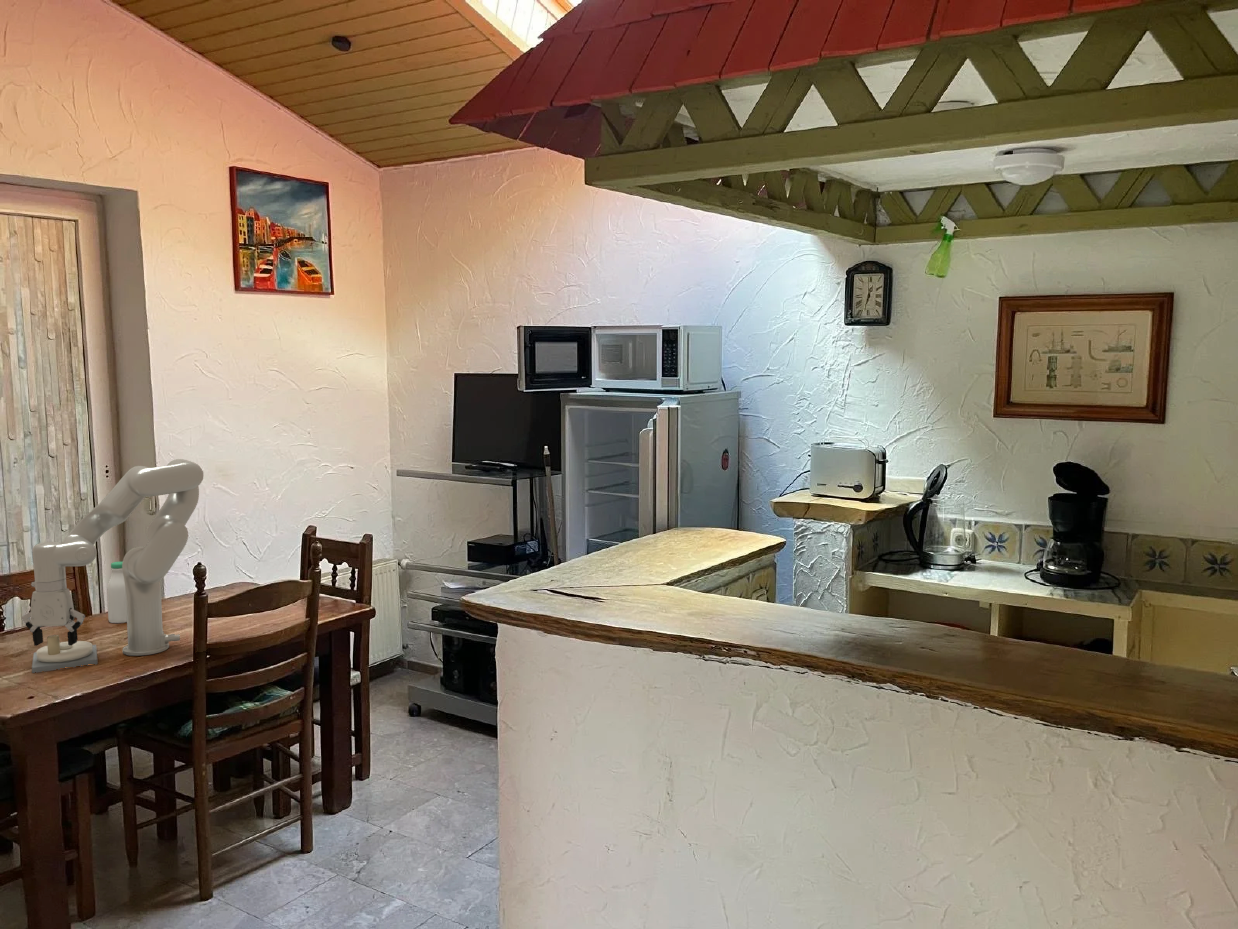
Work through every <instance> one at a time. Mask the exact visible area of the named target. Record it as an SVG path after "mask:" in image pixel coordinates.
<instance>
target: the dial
mask: <svg viewBox="0 0 1238 929" xmlns="http://www.w3.org/2000/svg"><path fill="white" fill-rule="evenodd" d="M46 641H47V643H46V644H47V645H44V646H42V647H40V648H38V649H37V650H36V652H37V660H38V661H41V662H64V661H71V660H76V659H80V658H83V657H86V656H88V655H90V654H91V653H92V652H93V646H92V645H93V643H92V642H90V641H85V640H77V642H76V643H75V644H73V645H68V641H61V642H60V635H59V634H52V635H47V636H46Z"/></svg>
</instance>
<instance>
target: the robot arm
mask: <svg viewBox="0 0 1238 929" xmlns="http://www.w3.org/2000/svg"><path fill="white" fill-rule="evenodd" d="M203 480H204V471H203V469H202V468H201V466H200V465H199V464H198V463H195V462H194V461H191V460H187V459H183V458H177V459H172V460H171V461H169V462H168V463H167V465H163V466H155V467H149V466H144V465H135V466H133V467H131V468H130V469H129V470H128V471H126V472H125V474H124V475H123V476H122V477H121V478H120V479H119V481H118V482H117V483H116V484H115V485H114V487H113V488H112V489H111V490H110V491H109V492H108V494H106V496H105V497H104V498H103V499H102V500H101V501H100V502H99V503H98V504H97V505H96V506H95V507H93V508H92V510H91V511H90V512H88V513H87V514H86V515H85V516H83V518H82V519H81V520H79V521H78V522H77V523H76V525H75V526H74V527H73V528H72V529H71V531H70V532H69V533H67V535H66V536H65V537H64V539H63V540H62V542H59V541H45V542H39V543H38V544H34V545H33V547H32V561H33V572H34V581H32V582H31V584H30V585H31V587H34V588H35V590H34V591H32V594H31V602H30V612H28V613H26V614H24V615H22V616H21V619H22V621H23V623H25V624H24V625H25V626H26V627H27V629H29V631H30V632H31V633H32V641H33V642H32V643H33V645H34V646H35V647H36V646H39V645H41V644H43V643H44V637H43V636H44V635H43V629H42V628H43V627H65V628H66V629H67V630H68V632H67V642H68V645H73V644H75V643H76V642H77V641H78V630H79V628H80V627H81V625H83V622H84V620H85V618H86V615H85V614H84V613H82V612H79V611H78V610H76V609H75V608H74V602H73V598H72V595H71V591H70V589H69V588H67V574H66V567H84V566H87V565H89V564H92V562H94V561H95V559H96V557H97V553H98V552H97V548H96V546H95V544H96V542H97V541H98V540H99V539H100V538H101V537H102V536H103V535H105V533H106V532H108V531H109V530H110V529H112V528H114V527H116V526H118V525H120V524H122V523H124V522H126V521H127V520H128V518H130V516H132V513H134V511H135V510H136V509H137V507H139V506H140V504H142V502H143V501H144V500H145V498H147V497H149V498H150V497H158V496H164V495H167V497H166V499H165V501H164V502H163V503H162V506H161V507H160V509H159V510H158V511H157V513H155V516H154V518H153V519H152V520H151V521H150V523H149V525H147V528H146V531H145V536H146V539H147V540H148V542H147V544H146V545H145V546H136V547H133V548H131V549H130V550H128V551H127V552H126V553H125V555H124V556H123V559H122V562H123V563H122V569H123V576H124V582H125V592H126V613H127V622H126V628H127V645H125V646H123V648H122V654H123V655H126V656H135V657H136V656H137V657H139V656H148V655H155V654H158V653H161V652H164V651H166V650H167V649H169V648H170V643H169V642H177V641H178V642H179V641H181V635H180V634H179V633H178V634H176V633H170V634H166V633H165V632H164V630H163V628H164V627H163V608H162V588H161V581H162V579H163V578H165V577H166V576H167V574H168V573H169V571H170V569H171V568H172V567H173V565H174V564H175V562H176V561H177V560H178V558H179V556H180V555H181V553H182V552H183V551H184V548H185V547H186V545H187V542H188V539H189V531H188V529H187V528H188V527H186V524H187V523H188V521H189V520H190V518H191V517H192V515H193V513H194V511H195V509H196V507H197V505H198V503H199V498H200V488H199V486H200V485H201V484H202V482H203ZM75 618H76V621H75Z"/></svg>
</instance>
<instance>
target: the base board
mask: <svg viewBox="0 0 1238 929" xmlns="http://www.w3.org/2000/svg"><path fill="white" fill-rule="evenodd" d="M92 646H93V652H92V653H91V654H90V655H88V656H86V657H83V658H80V659H76V660H71V661H64V662H41V661H38V660H37V651H35V652H33V656H32V663H31V664H32V665H31V673H32V674H34V673H35V672H36V673H41V672H42V671H44V672H50V671H57V670H56V669H58V670H61V669H60V668H65V667H73V668H77V667H76V666H80V667H84V666H83V665H87V666H89V665H88V664H95V665H98V662H99V661H98V654H97V653H98V649H97V644H92ZM81 665H82V666H81ZM42 673H43V672H42Z"/></svg>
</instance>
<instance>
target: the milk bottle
mask: <svg viewBox="0 0 1238 929" xmlns="http://www.w3.org/2000/svg"><path fill="white" fill-rule="evenodd" d="M122 563H123V561H114V562H112V563H110V568H111V574H110V577H109V580H108V582H107V586H106V592H107V593H106V594H107V596H106V597H107V600H106V601H107V619H108V622H109V623H111V624H124V623H127V613H126V592H125V582H124V576H123V569H122Z"/></svg>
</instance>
